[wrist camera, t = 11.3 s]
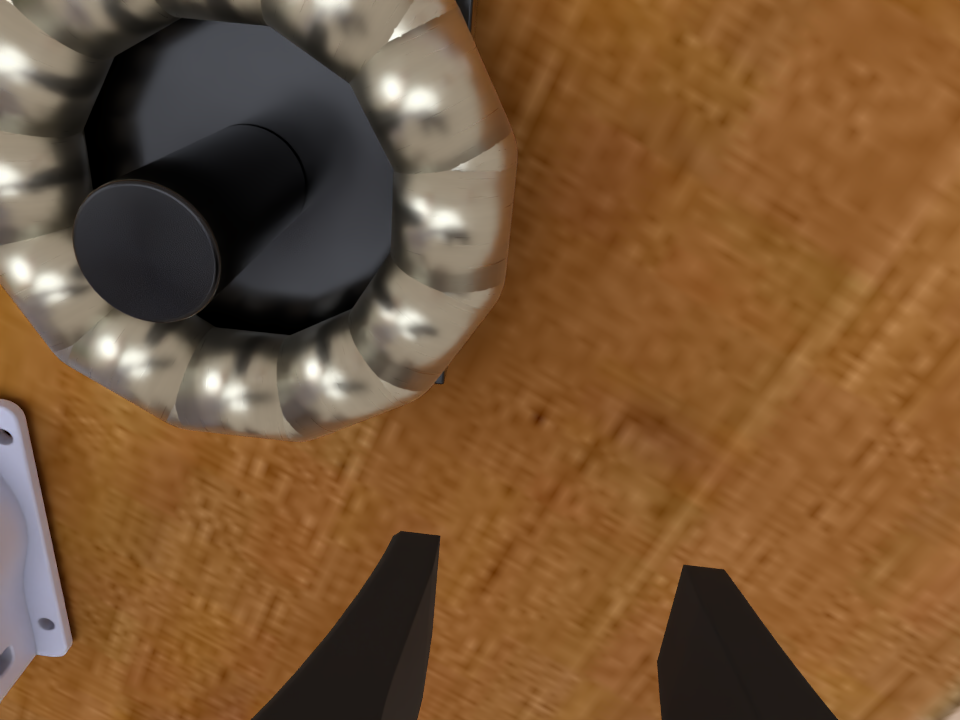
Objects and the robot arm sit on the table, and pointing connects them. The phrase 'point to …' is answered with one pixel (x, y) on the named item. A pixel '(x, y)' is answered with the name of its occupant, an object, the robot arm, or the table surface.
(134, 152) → the tape post
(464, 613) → the table surface
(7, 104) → the segmented metal ring
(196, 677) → the table surface
